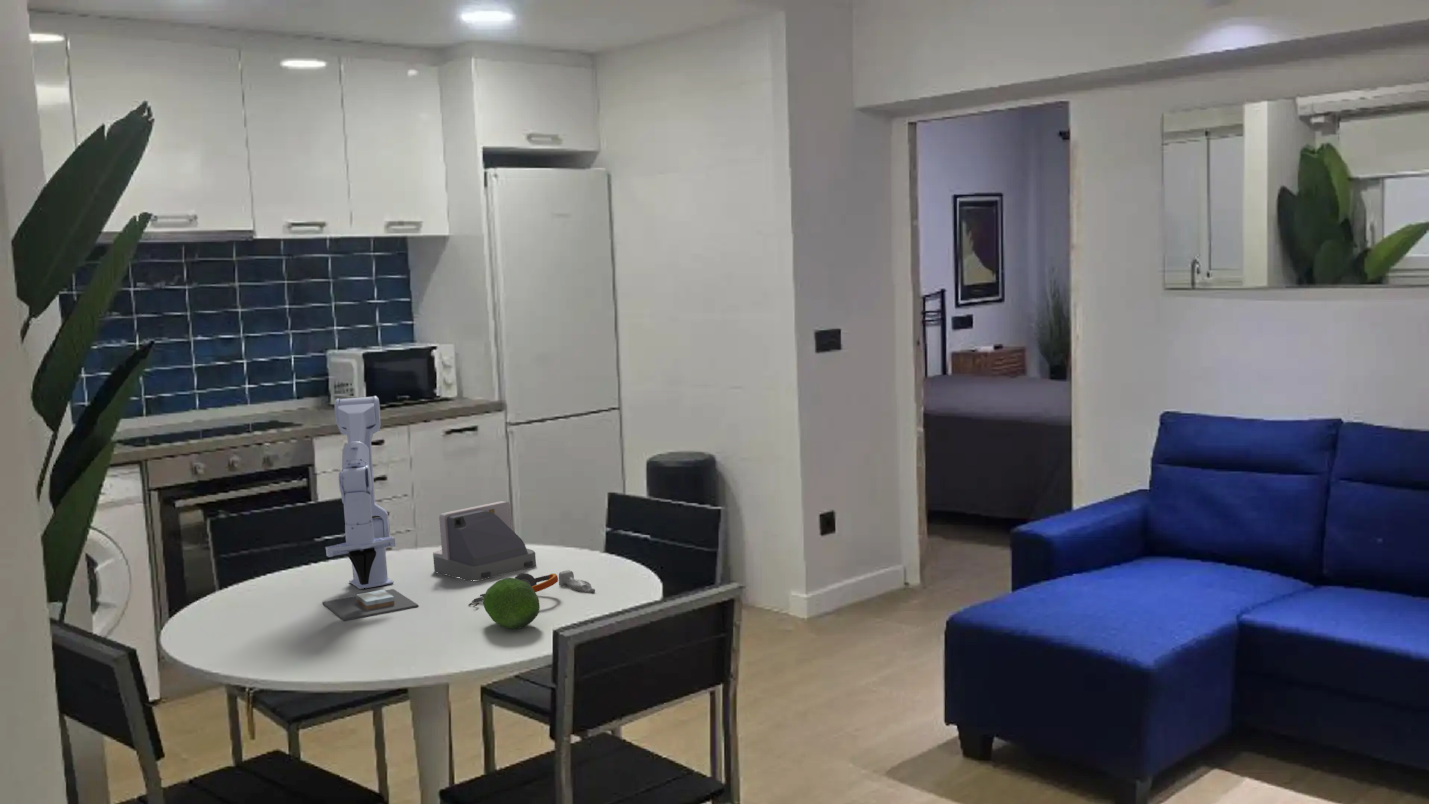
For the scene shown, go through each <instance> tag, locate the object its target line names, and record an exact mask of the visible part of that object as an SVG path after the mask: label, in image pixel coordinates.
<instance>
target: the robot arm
mask: <svg viewBox="0 0 1429 804" xmlns="http://www.w3.org/2000/svg"><path fill="white" fill-rule="evenodd" d="M380 406H381V405H380V399H379V397H378V396H377V395H373V396H366V397H365V396H363V397H350V398H349V397H348V398H339V397H338V398H336V400H334V417H335V423H336V425H337V429H338V431H339V432H340V434H341V435H343V436H344V435H345V436H347V444H345V445H344V446H343V448H342V451H341V452H342V455H341V456H342V458H341V471H339V472H338V486H339V487H338V488H339V492H340V496H341V502H342V504H343V514H344V515H343V516H344V523H345V525H344V532H345V533H344V534H345V542H342V543H339V544H338V543H337V544H334V545H329V546H325V554H326V557H328V558H331V557H334V556H340V555H347V557H348V558H349V560H350V561H351V566H352V567H351V568H352V577H353V578H352V579H349V581H348V582H349V583H350V584H352V585H353V586H354V587H356V588H357V589H359V590H364V588H365V589H369V588H371V589H372V588H376V587H380V586H386V585H391V584H394V581H393V580H392V579H390V578H389V575H388V565H387V553H386V548H388V547H390V548H393V547H396V538H395V537H394V536H391V528H390V527H391V526H390V519H389V513H388V511H387V510H386V509H385V508H384V507H382V506H380V505H379V504H377V503H376V496H375V482H374V481H375V480H374V469H373V468H374V465H373V464H374V463H373V452H372V451H373V450H372V440H373V435H374V434H376V433H377V432H379V431H380V430H381V427H382V424H381V407H380ZM373 517H374V518H373Z"/></svg>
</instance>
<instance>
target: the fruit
mask: <svg viewBox="0 0 1429 804" xmlns="http://www.w3.org/2000/svg"><path fill="white" fill-rule="evenodd" d="M484 594H485V595H484V599H483V601H482V605H483V608H484V610H485V611H486V613H487V615H488V616H489V618H491V620H492V621H493V623H496V624H497V625H499V626H500V627H502V628H505V629H511V630H512V629H513V630H518V629H519V630H520V629H522V628H525V627H526V626H528V625H529V624H531V623H532V622H533V621H534V620H536V618H537V616H538V615H539V612H540V608H541V606H540V599H539V596H538V594H537V592H535V591H534V589H533V588H532V587H531V586H530V585H529V584H528V583H527V582H524V581H522V580H519V579H516V578H515V577H514V578H513V577H506V578H501V579H499V580H497V581H496V582H494V583H493V584H492V585H491V586H490V587H488V588H487V590H486V591H485V593H484Z"/></svg>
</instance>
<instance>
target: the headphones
mask: <svg viewBox="0 0 1429 804" xmlns="http://www.w3.org/2000/svg"><path fill="white" fill-rule="evenodd" d="M514 578H516V579H519V580H522V581H524V582H527V583H528V584H529V585H530V586H531V587H532V588H533V589H534V591H535V593H538V592H541V591H543V590H546V589H549V588H550V587H552V586H553V585H556V584H557V583H559V576H558V575H557V574H556V573H549V574H547V575H541V576H538V577H534V576H533V575H532V574H531V573H528V572H527V573H526V572H522V573H519V574H517V575H516V576H515V577H514ZM540 582H541V583H540ZM537 583H538V584H537ZM479 595H480V596H479V597H477V598H473V600H472V601H474V602H472V601H471V602H469V603H468V606H473V608H475V607H477V606H479V604H480V602H483V599H484V595H485V593H481V594H479Z"/></svg>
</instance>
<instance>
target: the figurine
mask: <svg viewBox="0 0 1429 804" xmlns="http://www.w3.org/2000/svg"><path fill="white" fill-rule="evenodd" d="M558 586H559V587H560V586H561V587H569V588H571V589H574V590H576V591H577V592H580V593H588V594H595V592H596V589H595V588H593V586H592V585H591V583H590V582H589V581H588V580H583V579H575V575H574V572H573V571H572V570H569V569H567V570H563V571H560V572H559V573H558Z"/></svg>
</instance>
